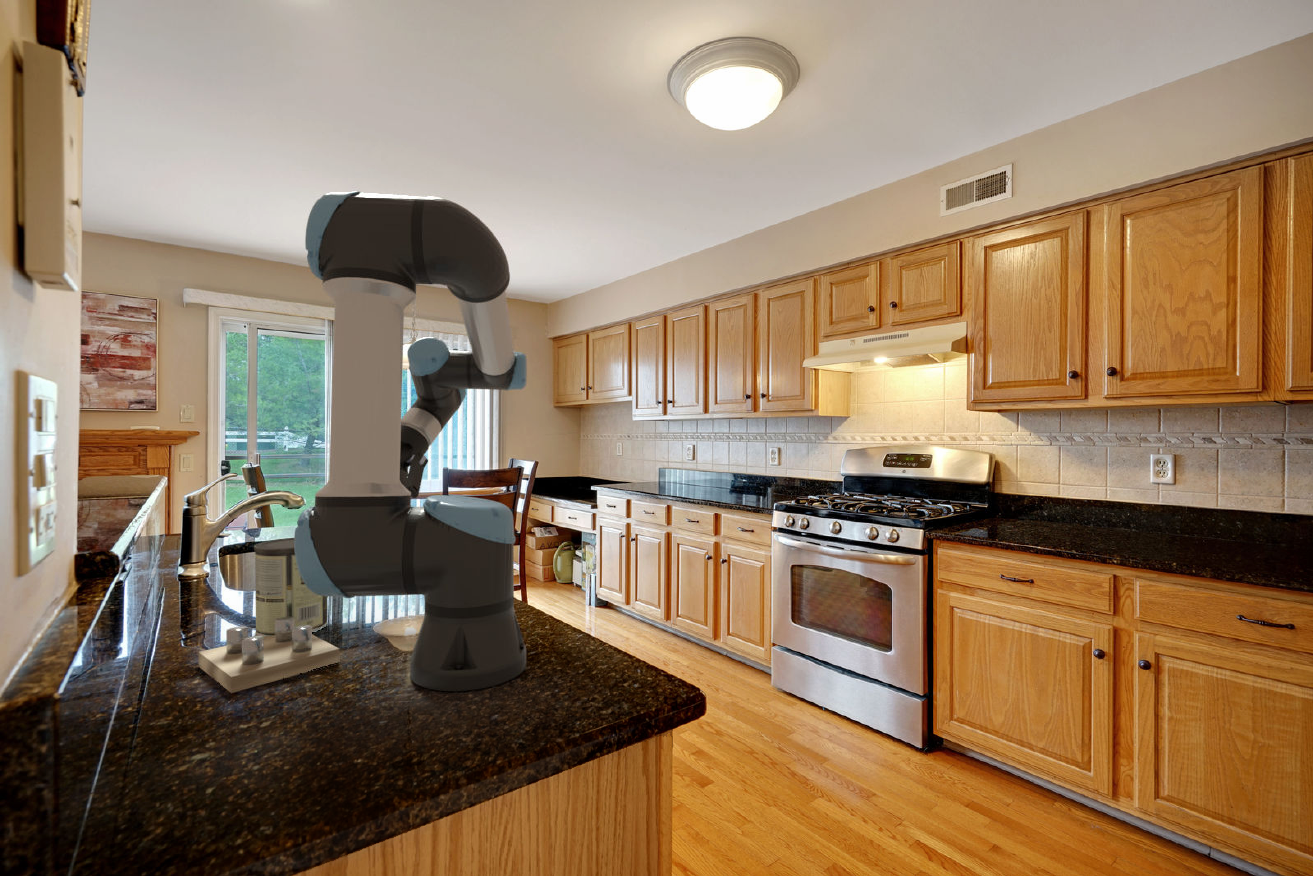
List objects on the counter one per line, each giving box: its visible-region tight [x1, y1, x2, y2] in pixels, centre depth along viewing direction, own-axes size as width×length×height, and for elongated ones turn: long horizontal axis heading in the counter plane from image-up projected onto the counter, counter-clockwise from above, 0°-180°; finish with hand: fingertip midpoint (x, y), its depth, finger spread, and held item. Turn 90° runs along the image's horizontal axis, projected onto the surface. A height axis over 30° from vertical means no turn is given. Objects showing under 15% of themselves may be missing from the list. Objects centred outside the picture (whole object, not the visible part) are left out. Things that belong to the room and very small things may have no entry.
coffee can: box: [253, 537, 329, 637], centre depth 101 cm, size 10×10×14 cm
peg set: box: [225, 617, 313, 665], centre depth 86 cm, size 8×8×3 cm
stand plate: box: [198, 634, 341, 694], centre depth 86 cm, size 13×13×2 cm
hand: (347, 522), depth 111 cm, fingers open, 13 cm apart
